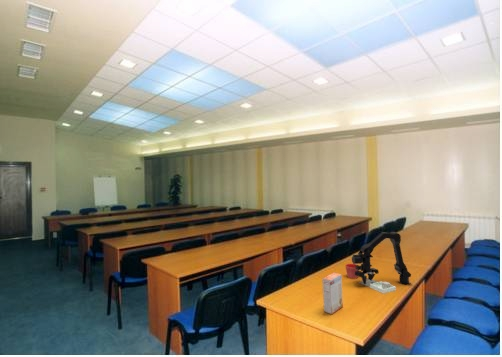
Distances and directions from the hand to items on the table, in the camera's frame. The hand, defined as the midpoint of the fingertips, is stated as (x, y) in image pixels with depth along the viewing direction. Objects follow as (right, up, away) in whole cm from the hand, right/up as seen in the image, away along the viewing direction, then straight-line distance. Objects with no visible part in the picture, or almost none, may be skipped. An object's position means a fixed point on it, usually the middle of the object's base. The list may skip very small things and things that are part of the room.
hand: (367, 283), depth 204 cm
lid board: (+4, -1, +4) cm, 6 cm away
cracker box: (-37, -2, -36) cm, 52 cm away
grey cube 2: (0, -1, 0) cm, 1 cm away
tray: (+8, -1, -8) cm, 11 cm away
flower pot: (-4, -2, +18) cm, 19 cm away
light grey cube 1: (+10, 0, -9) cm, 13 cm away
